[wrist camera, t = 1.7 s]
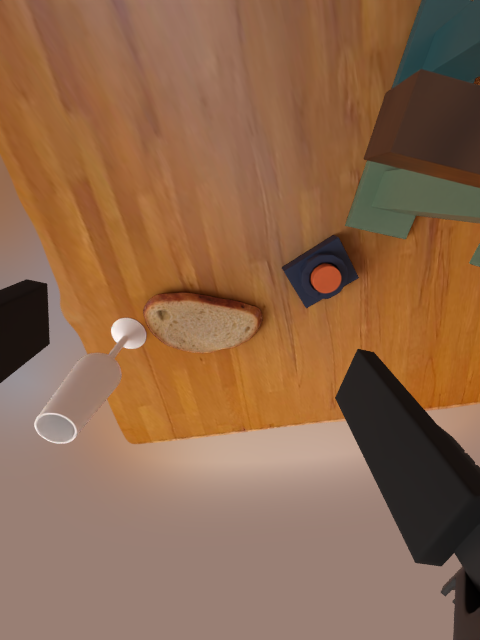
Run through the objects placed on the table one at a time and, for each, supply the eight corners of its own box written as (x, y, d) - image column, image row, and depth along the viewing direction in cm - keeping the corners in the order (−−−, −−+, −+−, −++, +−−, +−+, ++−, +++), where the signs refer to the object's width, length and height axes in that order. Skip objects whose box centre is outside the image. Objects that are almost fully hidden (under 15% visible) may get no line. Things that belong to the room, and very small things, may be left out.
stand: (339, 224, 46) (484, 268, 19) (366, 140, 42) (614, 39, 14) (406, 239, 48) (636, 301, 20) (441, 159, 43) (804, 98, 15)
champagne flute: (146, 350, 56) (88, 451, 34) (112, 347, 56) (30, 447, 34) (146, 319, 53) (82, 408, 31) (109, 315, 53) (19, 402, 31)
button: (330, 258, 45) (333, 260, 43) (342, 280, 46) (346, 283, 44) (305, 273, 46) (308, 276, 44) (318, 294, 47) (320, 298, 45)
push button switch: (333, 234, 47) (342, 238, 43) (353, 273, 50) (363, 281, 46) (281, 267, 49) (285, 274, 45) (303, 303, 52) (308, 312, 48)
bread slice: (270, 320, 53) (272, 328, 50) (202, 373, 58) (200, 384, 55) (203, 248, 48) (201, 252, 44) (134, 313, 53) (127, 321, 49)
